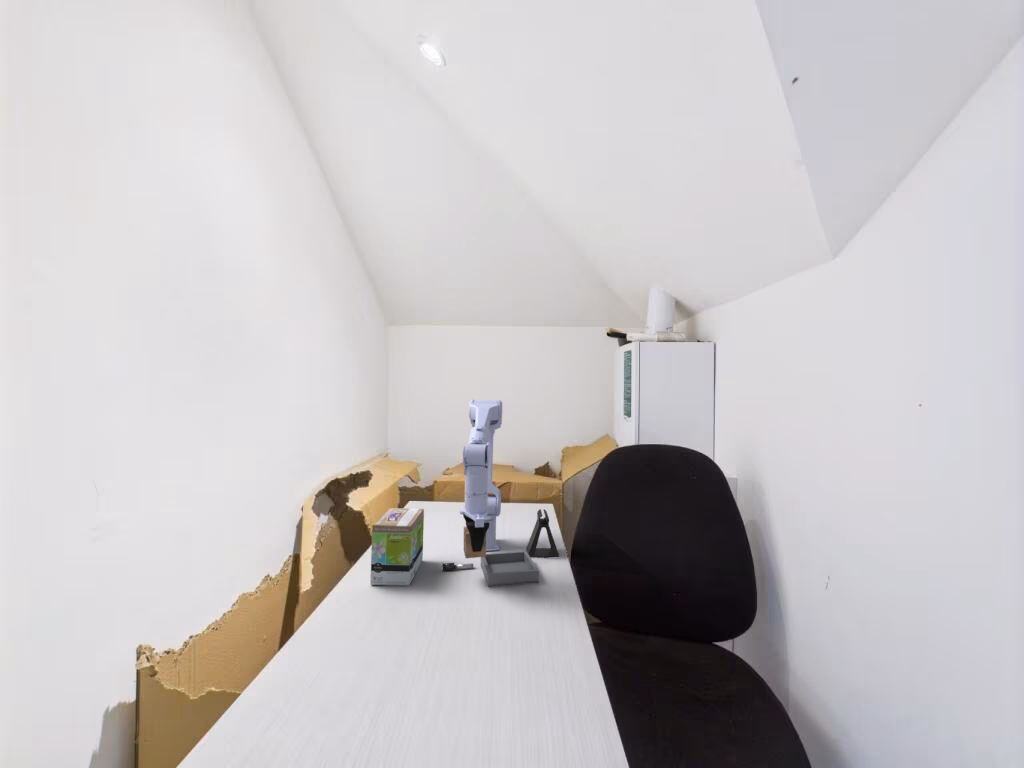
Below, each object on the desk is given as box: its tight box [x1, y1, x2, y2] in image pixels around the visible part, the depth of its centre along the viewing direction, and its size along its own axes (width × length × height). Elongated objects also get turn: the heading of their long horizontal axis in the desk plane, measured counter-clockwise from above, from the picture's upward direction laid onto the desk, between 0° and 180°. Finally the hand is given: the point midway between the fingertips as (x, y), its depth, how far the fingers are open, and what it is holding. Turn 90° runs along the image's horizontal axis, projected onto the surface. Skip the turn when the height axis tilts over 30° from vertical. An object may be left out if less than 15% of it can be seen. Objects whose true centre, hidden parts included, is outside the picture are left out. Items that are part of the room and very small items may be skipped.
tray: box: [480, 550, 540, 588], centre depth 109 cm, size 13×13×3 cm
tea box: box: [369, 507, 425, 586], centre depth 109 cm, size 15×10×15 cm, turn 0°
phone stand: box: [526, 508, 560, 559], centre depth 122 cm, size 9×6×12 cm, turn 90°
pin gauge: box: [442, 562, 474, 572], centre depth 111 cm, size 8×2×2 cm, turn 103°
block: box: [463, 526, 487, 559], centre depth 105 cm, size 5×5×6 cm
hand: (475, 546), depth 105 cm, fingers closed on block, 5 cm apart
